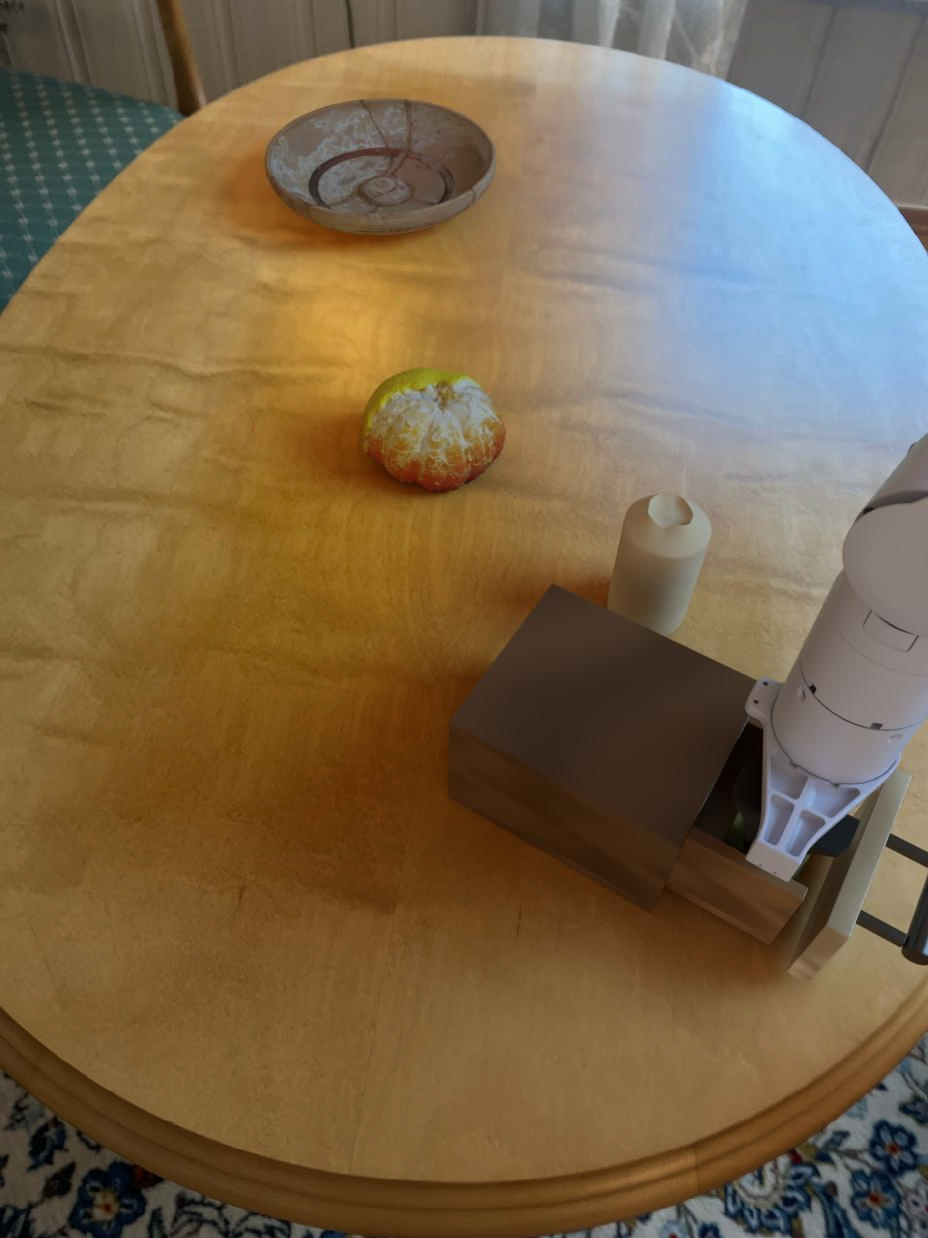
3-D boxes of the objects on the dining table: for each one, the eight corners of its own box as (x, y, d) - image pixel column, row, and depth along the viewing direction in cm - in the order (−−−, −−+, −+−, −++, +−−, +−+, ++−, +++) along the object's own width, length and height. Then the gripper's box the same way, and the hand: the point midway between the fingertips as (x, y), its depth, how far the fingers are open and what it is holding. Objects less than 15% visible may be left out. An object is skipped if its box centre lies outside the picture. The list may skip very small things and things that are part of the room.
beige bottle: (699, 626, 67) (733, 527, 59) (628, 649, 66) (654, 551, 58) (660, 570, 70) (688, 468, 63) (592, 591, 69) (612, 490, 61)
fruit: (359, 503, 73) (351, 403, 69) (370, 444, 82) (364, 352, 77) (507, 503, 73) (509, 402, 69) (502, 444, 82) (504, 351, 77)
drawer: (939, 868, 56) (992, 814, 50) (885, 1029, 50) (938, 987, 45) (673, 732, 61) (695, 670, 56) (597, 864, 55) (614, 809, 50)
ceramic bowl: (231, 179, 103) (223, 131, 99) (420, 124, 111) (419, 78, 108) (337, 286, 91) (333, 237, 88) (539, 216, 100) (543, 169, 96)
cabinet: (730, 761, 61) (766, 684, 54) (650, 914, 55) (680, 848, 48) (541, 665, 65) (552, 582, 58) (447, 796, 59) (448, 721, 52)
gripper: (833, 530, 46) (759, 689, 57) (712, 754, 38) (653, 890, 49) (984, 592, 44) (877, 746, 55) (887, 844, 36) (785, 965, 47)
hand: (779, 818), depth 52 cm, fingers closed on block, 4 cm apart
